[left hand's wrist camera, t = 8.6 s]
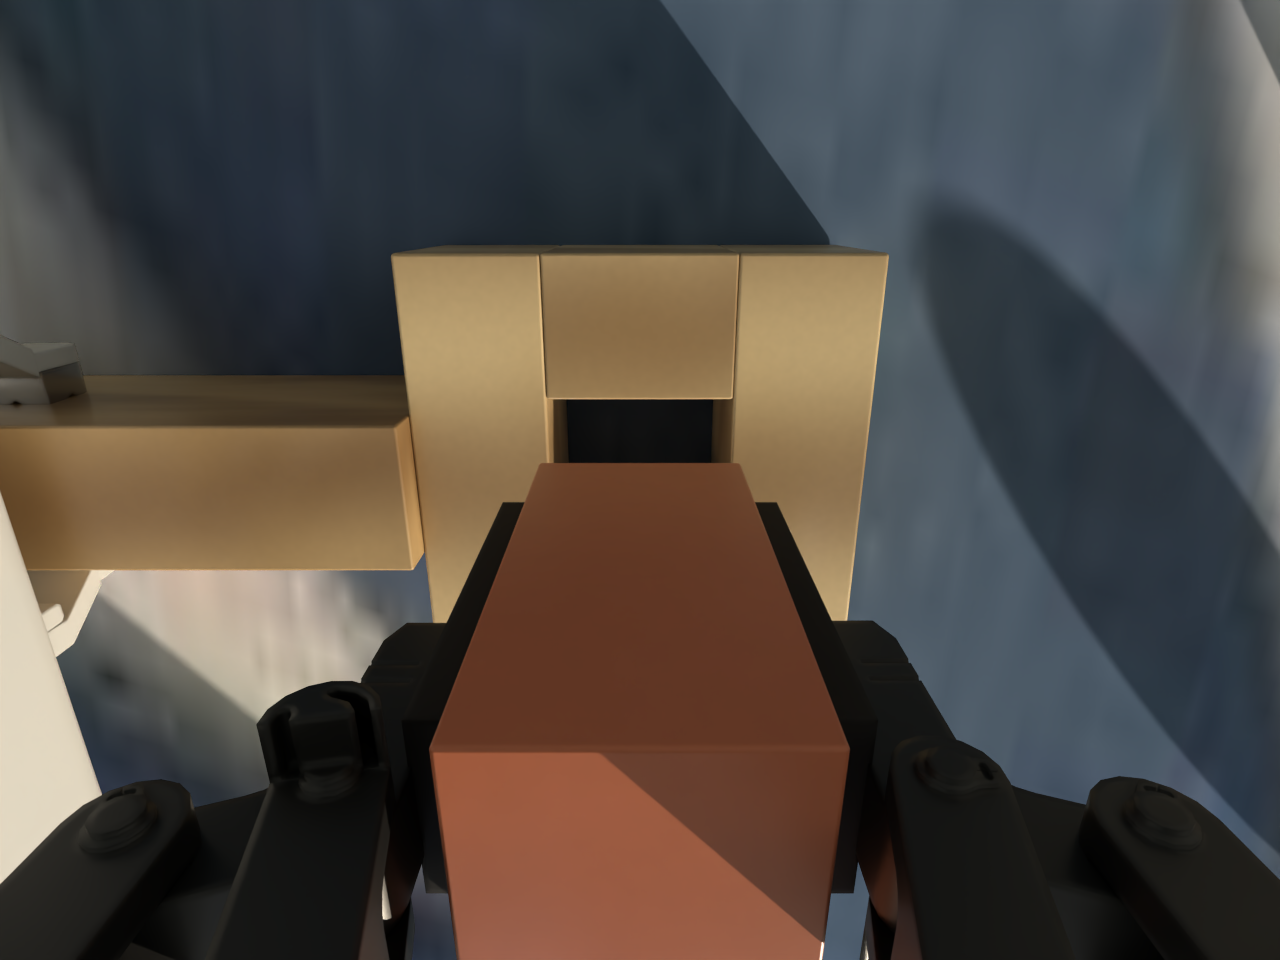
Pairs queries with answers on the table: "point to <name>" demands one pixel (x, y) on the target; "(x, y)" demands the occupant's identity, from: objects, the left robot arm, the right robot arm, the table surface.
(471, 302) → the wooden peg hole frame
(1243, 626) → the table surface
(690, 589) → the peg
